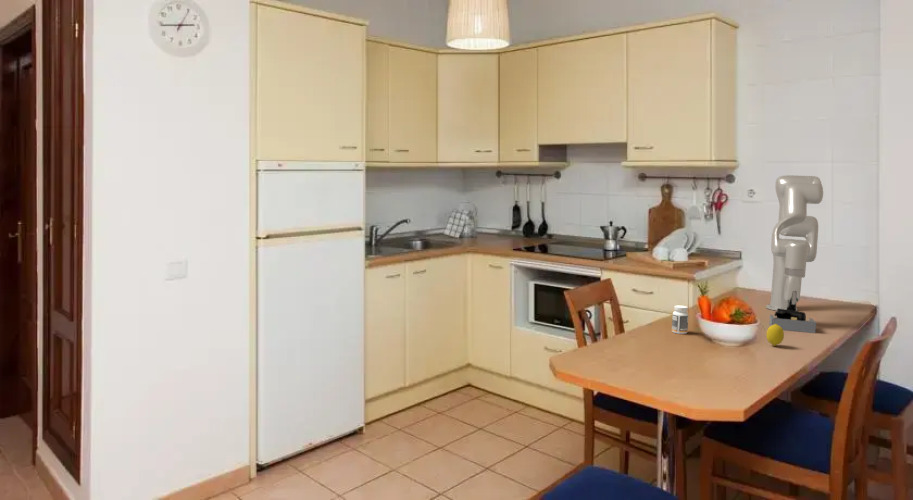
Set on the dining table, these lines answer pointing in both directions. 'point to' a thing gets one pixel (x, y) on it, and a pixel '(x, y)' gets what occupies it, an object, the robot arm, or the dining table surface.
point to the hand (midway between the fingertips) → (790, 317)
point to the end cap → (790, 314)
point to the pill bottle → (680, 320)
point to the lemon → (775, 334)
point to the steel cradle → (794, 324)
